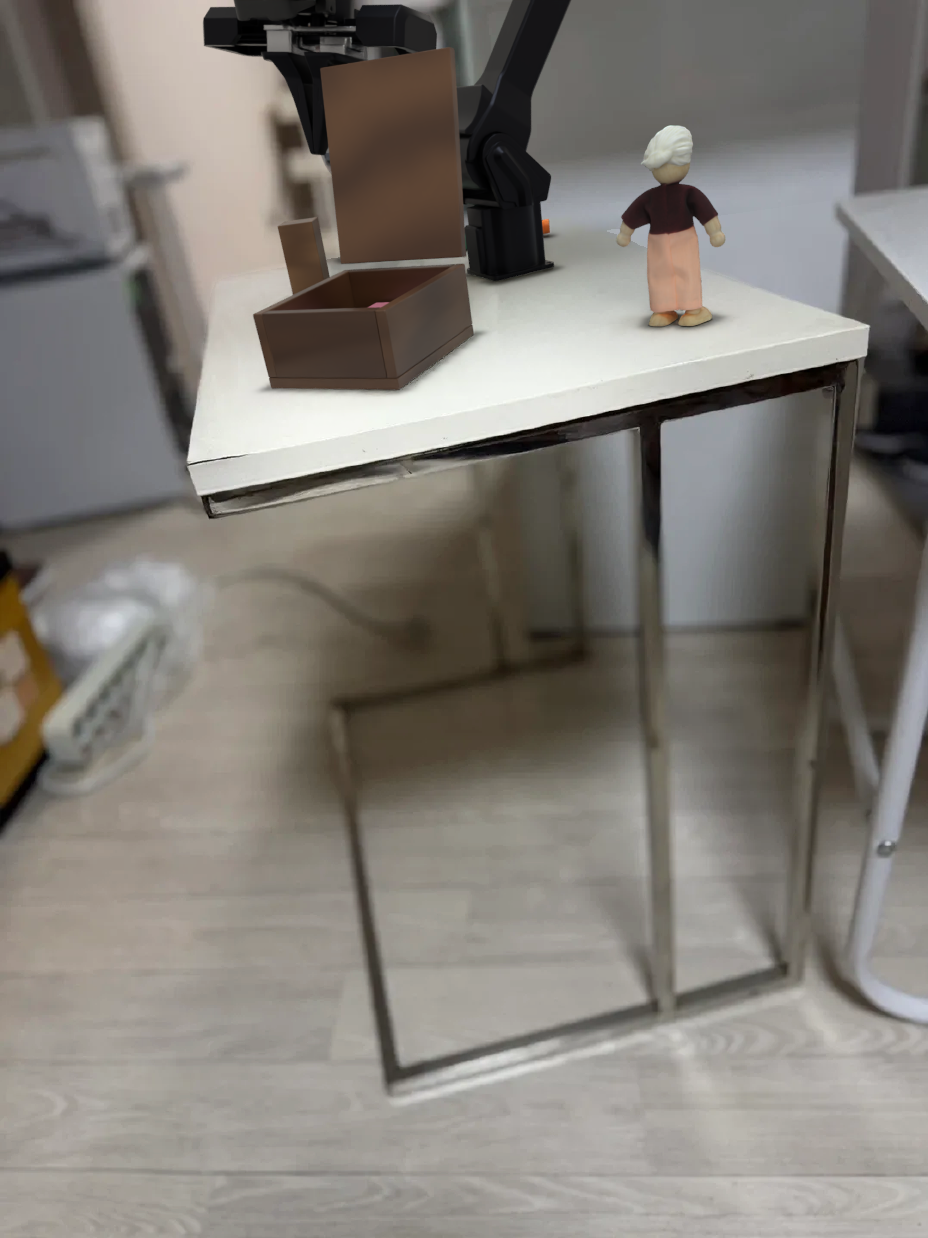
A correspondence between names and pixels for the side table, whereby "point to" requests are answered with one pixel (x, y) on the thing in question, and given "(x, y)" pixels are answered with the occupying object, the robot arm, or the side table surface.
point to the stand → (303, 253)
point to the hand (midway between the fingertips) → (317, 155)
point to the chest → (366, 328)
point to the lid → (396, 157)
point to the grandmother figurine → (672, 230)
